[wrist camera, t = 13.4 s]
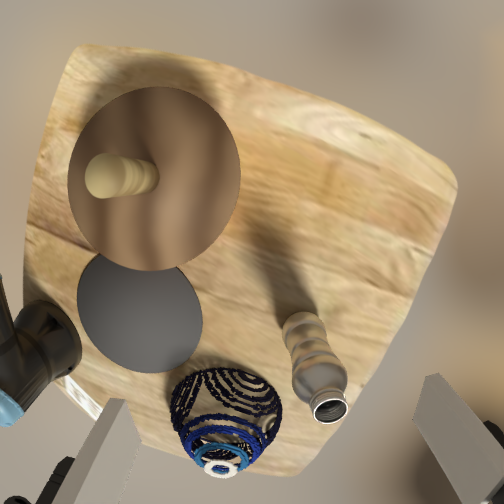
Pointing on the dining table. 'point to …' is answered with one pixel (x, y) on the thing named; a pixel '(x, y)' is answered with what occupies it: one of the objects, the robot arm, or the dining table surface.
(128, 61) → the dining table surface
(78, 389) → the dining table surface
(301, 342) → the plastic bottle
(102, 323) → the mat
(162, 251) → the lid
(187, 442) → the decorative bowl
